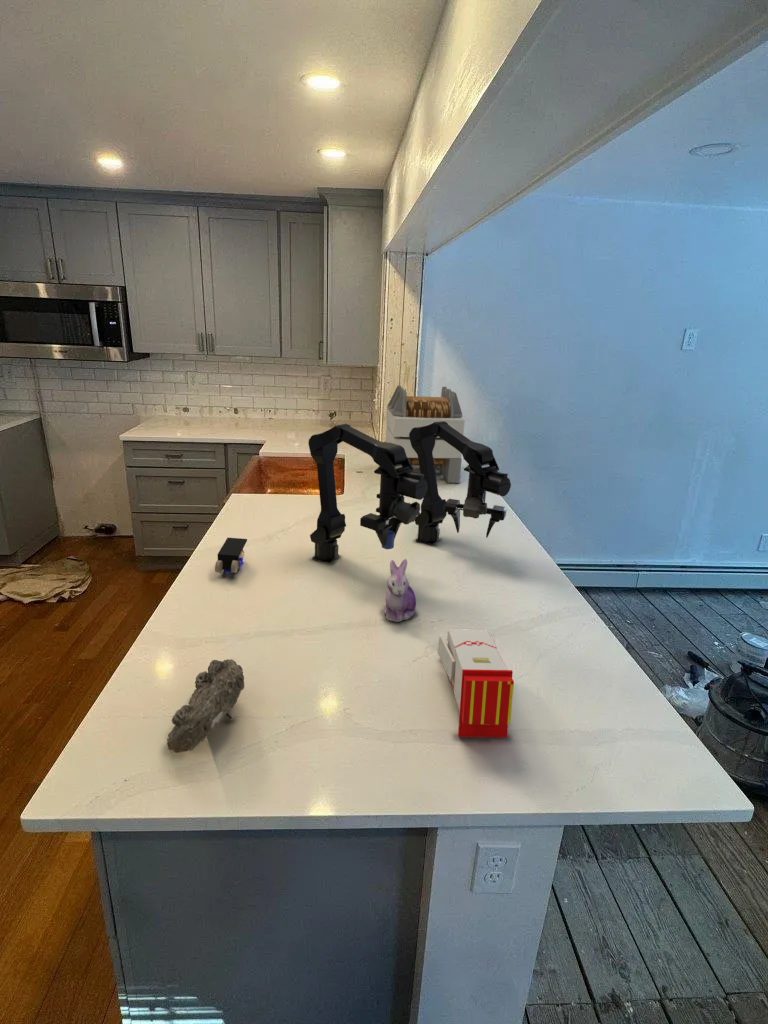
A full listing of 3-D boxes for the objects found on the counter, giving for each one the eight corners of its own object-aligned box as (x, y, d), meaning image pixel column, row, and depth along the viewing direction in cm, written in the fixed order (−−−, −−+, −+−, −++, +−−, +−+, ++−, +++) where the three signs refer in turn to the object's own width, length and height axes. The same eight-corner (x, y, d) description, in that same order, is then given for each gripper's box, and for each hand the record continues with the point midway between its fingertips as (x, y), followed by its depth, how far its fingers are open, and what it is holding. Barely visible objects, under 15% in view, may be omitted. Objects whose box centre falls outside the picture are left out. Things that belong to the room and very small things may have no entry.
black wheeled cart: (238, 584, 162) (249, 557, 175) (236, 562, 158) (247, 536, 172) (215, 584, 161) (227, 556, 175) (212, 561, 158) (225, 535, 171)
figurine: (392, 627, 141) (395, 572, 136) (374, 608, 149) (376, 556, 144) (425, 619, 145) (429, 566, 140) (405, 601, 154) (408, 550, 149)
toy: (488, 613, 130) (523, 677, 101) (484, 667, 133) (517, 744, 104) (435, 612, 130) (455, 676, 101) (432, 666, 133) (451, 743, 103)
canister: (379, 546, 161) (379, 532, 160) (386, 543, 164) (387, 528, 162) (388, 550, 159) (389, 535, 158) (396, 546, 162) (397, 532, 160)
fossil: (192, 660, 117) (244, 628, 112) (224, 691, 120) (276, 661, 115) (142, 746, 98) (202, 712, 93) (182, 779, 101) (242, 748, 96)
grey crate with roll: (382, 463, 289) (386, 382, 275) (445, 464, 293) (451, 384, 279) (390, 482, 257) (394, 392, 243) (460, 483, 261) (468, 394, 247)
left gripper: (393, 506, 144) (390, 562, 149) (433, 490, 158) (429, 542, 163) (359, 496, 150) (358, 550, 156) (401, 481, 164) (398, 531, 170)
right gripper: (441, 490, 169) (437, 538, 174) (504, 499, 164) (498, 549, 169) (449, 481, 179) (445, 527, 184) (509, 489, 174) (503, 536, 179)
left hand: (387, 543), depth 161 cm, fingers closed on canister, 3 cm apart
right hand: (472, 534), depth 179 cm, fingers open, 9 cm apart
